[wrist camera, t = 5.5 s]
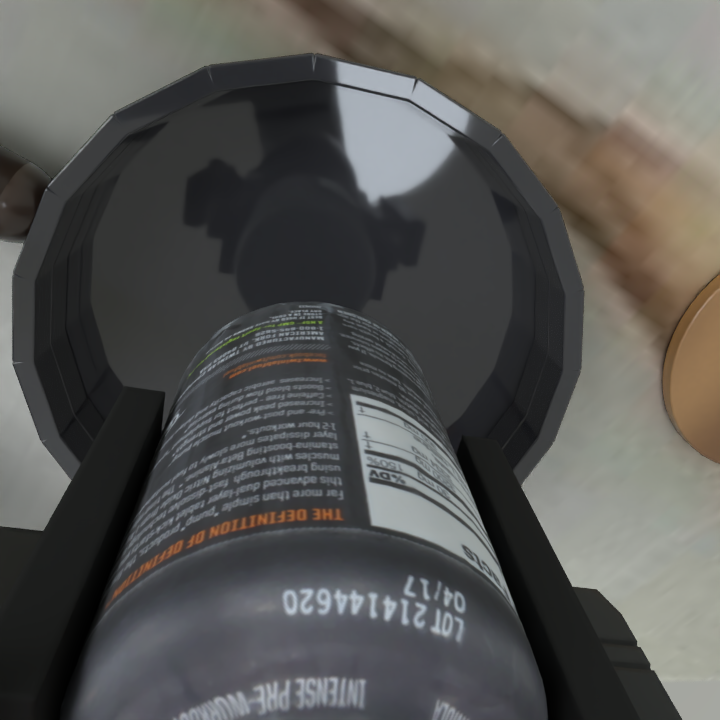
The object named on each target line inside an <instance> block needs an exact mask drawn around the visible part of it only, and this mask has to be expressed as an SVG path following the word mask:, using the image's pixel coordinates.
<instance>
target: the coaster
mask: <svg viewBox="0 0 720 720" xmlns="http://www.w3.org/2000/svg"><path fill="white" fill-rule="evenodd" d="M662 384H663V397H664V401H665V406H666V410H667V412H668V415H669V417H670V420H671V422H672V423H673V425H674V427H675V428H676V430H677V432H678V433H679V434H680V435H681V436H682V437H683V438H684V439H685V441H686V442H687V443H688V444H690V445H691V446H692V447H693V448H694V449H695V450H696V451H698V452H699V453H700V454H701V455H703V456H705V457H706V458H708V459H710V460H712V461H714V462H716V463H719V464H720V274H719V275H718V276H717V277H716V278H714V279H713V280H712V281H711V282H710V283H709V284H708V285H707V286H706V287H705V288H704V289H703V290H702V291H701V293H700V294H699V295H698V296H697V298H696V299H695V300H694V301H693V303H692V304H691V305H690V306H689V308H688V309H687V311H686V313H685V314H684V316H683V317H682V319H681V320H680V322H679V324H678V326H677V328H676V330H675V332H674V334H673V336H672V339H671V342H670V344H669V347H668V350H667V353H666V358H665V362H664V367H663V379H662Z"/></svg>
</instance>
